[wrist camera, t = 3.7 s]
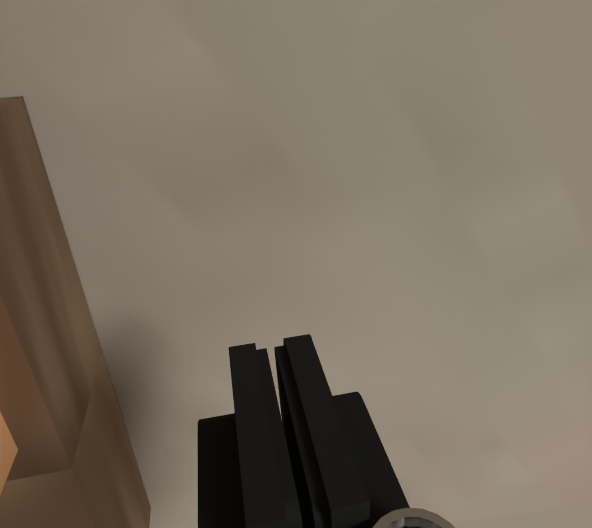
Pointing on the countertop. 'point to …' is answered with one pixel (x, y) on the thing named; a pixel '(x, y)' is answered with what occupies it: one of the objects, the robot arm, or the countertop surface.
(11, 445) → the block
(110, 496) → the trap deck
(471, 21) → the countertop surface
